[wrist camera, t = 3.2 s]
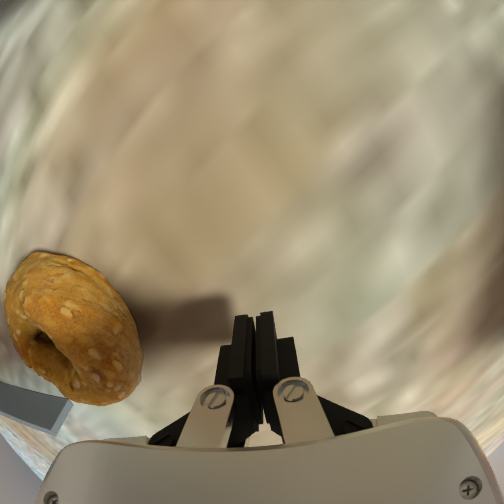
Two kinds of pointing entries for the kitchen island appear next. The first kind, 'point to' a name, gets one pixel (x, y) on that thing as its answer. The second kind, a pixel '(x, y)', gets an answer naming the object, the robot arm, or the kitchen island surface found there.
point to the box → (34, 408)
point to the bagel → (73, 329)
